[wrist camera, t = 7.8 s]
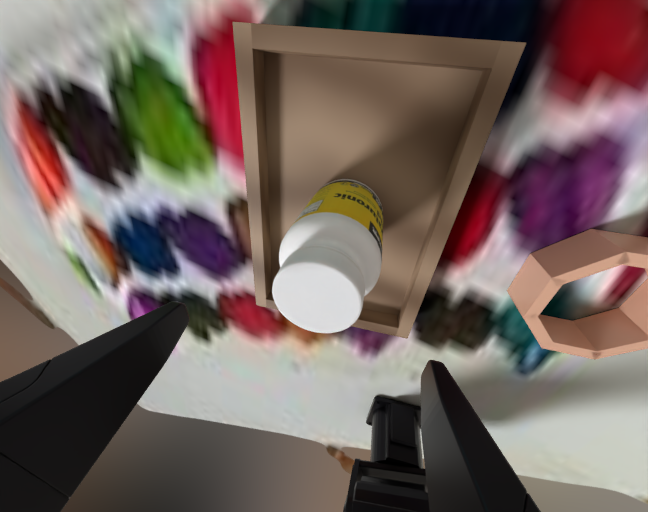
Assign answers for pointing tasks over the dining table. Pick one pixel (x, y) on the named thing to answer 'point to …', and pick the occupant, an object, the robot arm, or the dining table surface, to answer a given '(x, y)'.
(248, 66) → the tray
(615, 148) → the dining table surface
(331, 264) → the supplement bottle
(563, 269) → the tan octagonal bowl
